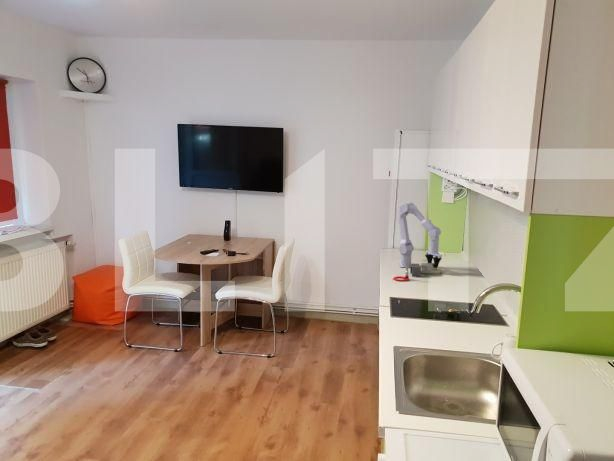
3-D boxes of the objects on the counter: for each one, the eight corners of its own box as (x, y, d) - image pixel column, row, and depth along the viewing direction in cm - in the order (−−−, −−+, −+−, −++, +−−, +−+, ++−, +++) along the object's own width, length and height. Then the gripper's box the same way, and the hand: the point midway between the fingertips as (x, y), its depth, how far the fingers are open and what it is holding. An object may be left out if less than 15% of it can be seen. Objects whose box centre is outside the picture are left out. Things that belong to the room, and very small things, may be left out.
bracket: (410, 272, 283) (410, 263, 282) (418, 272, 283) (418, 263, 282) (412, 276, 274) (412, 267, 273) (420, 276, 274) (420, 267, 273)
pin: (421, 270, 279) (421, 263, 279) (430, 269, 288) (431, 263, 289) (427, 270, 276) (427, 263, 276) (437, 270, 285) (437, 263, 286)
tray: (411, 269, 292) (411, 266, 292) (438, 269, 291) (438, 266, 290) (413, 272, 283) (413, 270, 282) (441, 273, 281) (441, 270, 281)
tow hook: (394, 282, 264) (409, 281, 264) (394, 261, 262) (409, 261, 262) (392, 278, 273) (407, 277, 272) (392, 258, 271) (407, 257, 270)
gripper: (422, 244, 289) (421, 264, 291) (435, 248, 275) (434, 269, 278) (431, 243, 291) (430, 263, 293) (444, 248, 278) (443, 268, 280)
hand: (432, 266), depth 286 cm, fingers closed on pin, 6 cm apart
